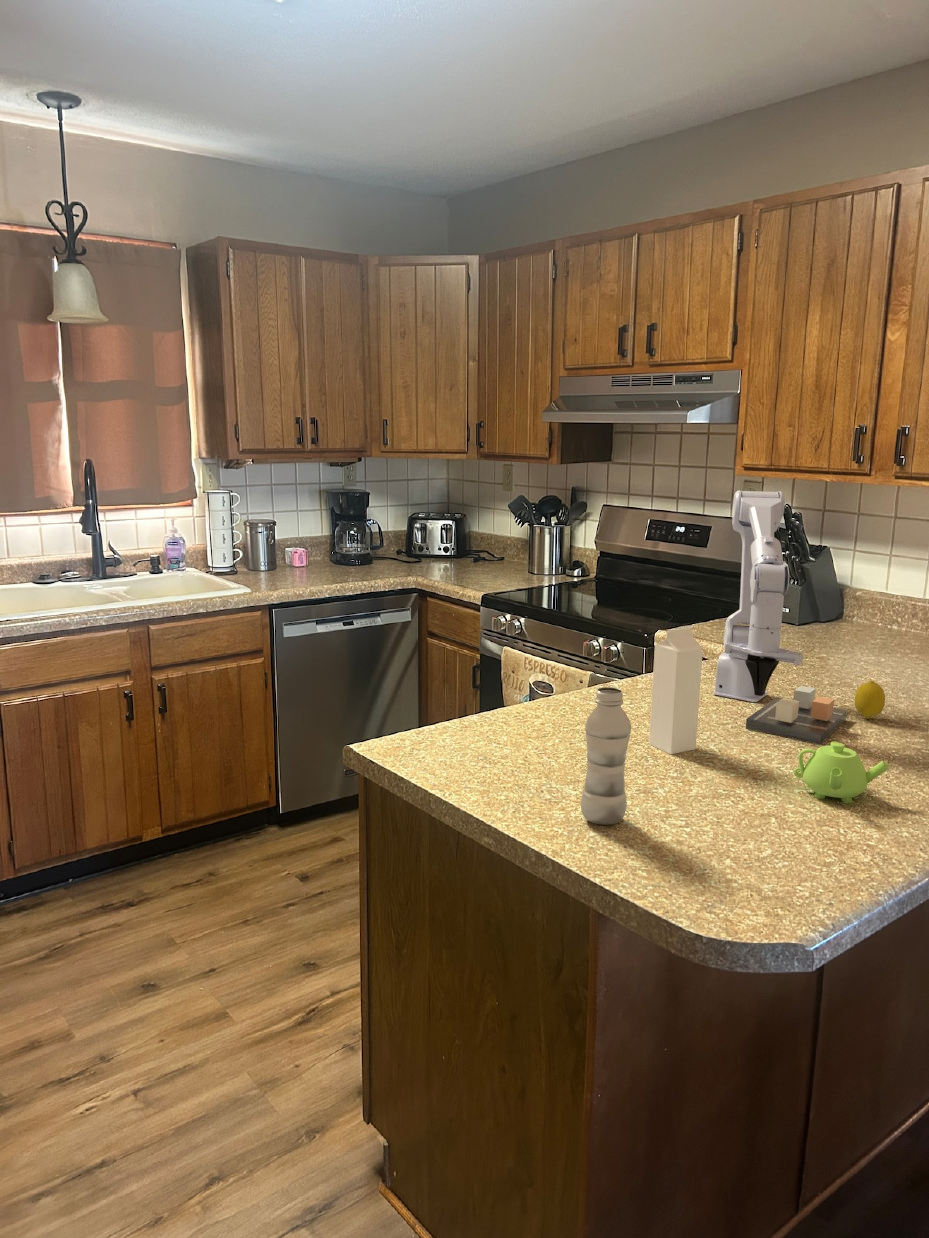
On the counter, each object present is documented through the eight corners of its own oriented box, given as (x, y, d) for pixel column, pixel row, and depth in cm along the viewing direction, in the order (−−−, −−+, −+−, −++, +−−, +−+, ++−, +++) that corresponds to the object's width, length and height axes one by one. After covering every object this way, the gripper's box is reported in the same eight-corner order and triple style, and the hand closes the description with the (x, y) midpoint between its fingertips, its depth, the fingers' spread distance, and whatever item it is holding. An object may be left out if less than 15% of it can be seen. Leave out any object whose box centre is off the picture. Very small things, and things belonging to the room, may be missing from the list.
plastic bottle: (575, 812, 136) (581, 684, 132) (619, 811, 137) (626, 683, 133) (584, 830, 130) (591, 697, 126) (631, 829, 131) (638, 696, 126)
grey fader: (792, 705, 182) (794, 690, 181) (798, 701, 185) (800, 685, 184) (808, 708, 180) (809, 692, 179) (814, 704, 183) (815, 688, 182)
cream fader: (775, 719, 173) (776, 703, 172) (781, 714, 176) (783, 698, 175) (791, 722, 171) (792, 706, 171) (797, 717, 174) (799, 701, 174)
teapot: (780, 786, 147) (784, 736, 146) (833, 776, 152) (839, 728, 150) (832, 813, 137) (838, 760, 136) (888, 802, 142) (894, 751, 140)
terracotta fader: (810, 717, 174) (812, 701, 174) (816, 712, 178) (818, 696, 177) (826, 720, 173) (828, 704, 172) (832, 715, 176) (834, 699, 175)
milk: (695, 749, 164) (705, 630, 159) (670, 755, 161) (679, 634, 156) (672, 739, 169) (681, 623, 164) (647, 744, 166) (655, 627, 161)
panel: (745, 728, 175) (746, 718, 175) (775, 706, 189) (776, 697, 189) (820, 744, 167) (821, 733, 167) (845, 720, 181) (846, 710, 181)
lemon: (885, 724, 179) (890, 685, 177) (855, 722, 180) (860, 683, 178) (879, 715, 184) (883, 678, 183) (850, 713, 185) (854, 676, 184)
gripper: (720, 624, 174) (715, 692, 177) (797, 635, 166) (791, 706, 169) (734, 618, 180) (728, 684, 183) (808, 628, 171) (802, 697, 174)
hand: (759, 694), depth 176 cm, fingers closed
